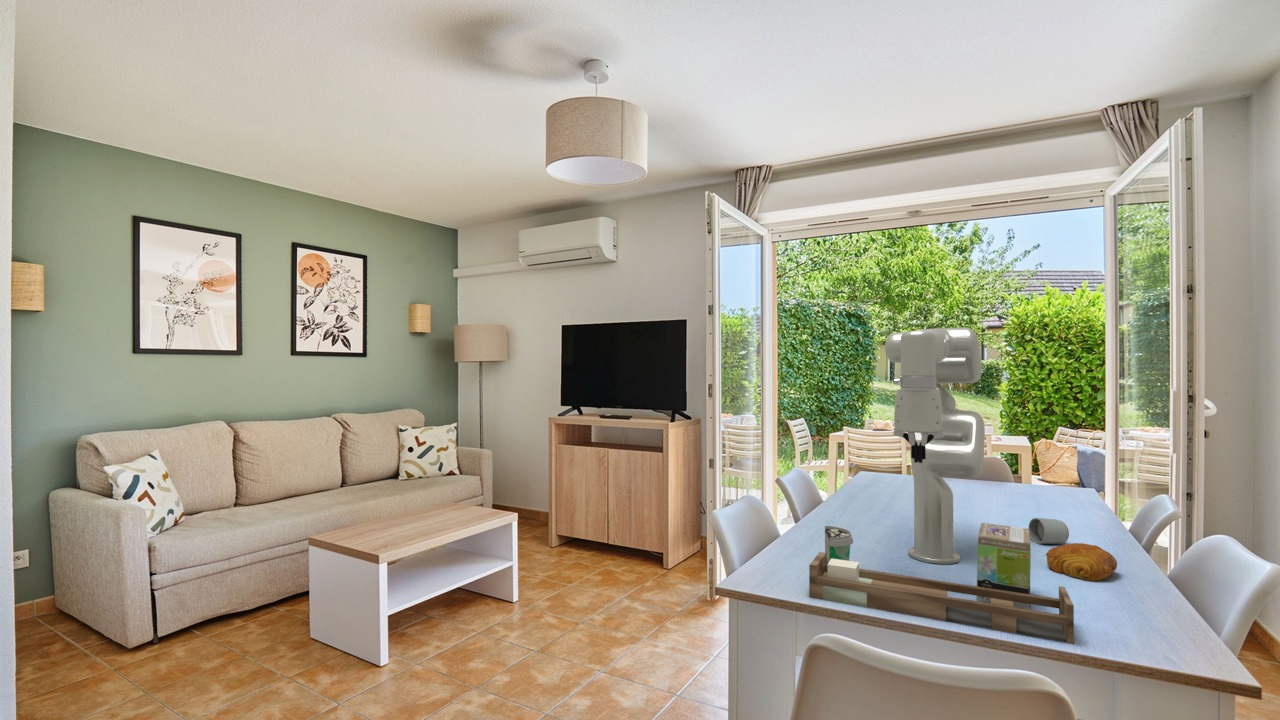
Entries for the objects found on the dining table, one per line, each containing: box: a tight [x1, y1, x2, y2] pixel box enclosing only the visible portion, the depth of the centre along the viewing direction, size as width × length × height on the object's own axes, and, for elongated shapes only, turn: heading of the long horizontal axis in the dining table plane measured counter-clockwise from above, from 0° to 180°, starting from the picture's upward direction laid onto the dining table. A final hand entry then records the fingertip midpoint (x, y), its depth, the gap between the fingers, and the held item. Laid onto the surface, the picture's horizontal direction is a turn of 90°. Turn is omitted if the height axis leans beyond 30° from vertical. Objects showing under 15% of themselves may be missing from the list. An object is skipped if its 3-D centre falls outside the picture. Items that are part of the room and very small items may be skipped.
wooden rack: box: [808, 551, 1075, 645], centre depth 127 cm, size 11×48×7 cm, turn 62°
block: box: [828, 558, 860, 582], centre depth 135 cm, size 5×6×4 cm
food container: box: [824, 525, 854, 564], centre depth 150 cm, size 12×6×10 cm, turn 168°
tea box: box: [976, 522, 1032, 610], centre depth 134 cm, size 15×10×15 cm
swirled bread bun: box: [1045, 542, 1118, 582], centre depth 152 cm, size 14×16×8 cm
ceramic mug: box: [1028, 517, 1070, 545], centre depth 179 cm, size 10×8×7 cm
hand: (918, 461), depth 142 cm, fingers closed
